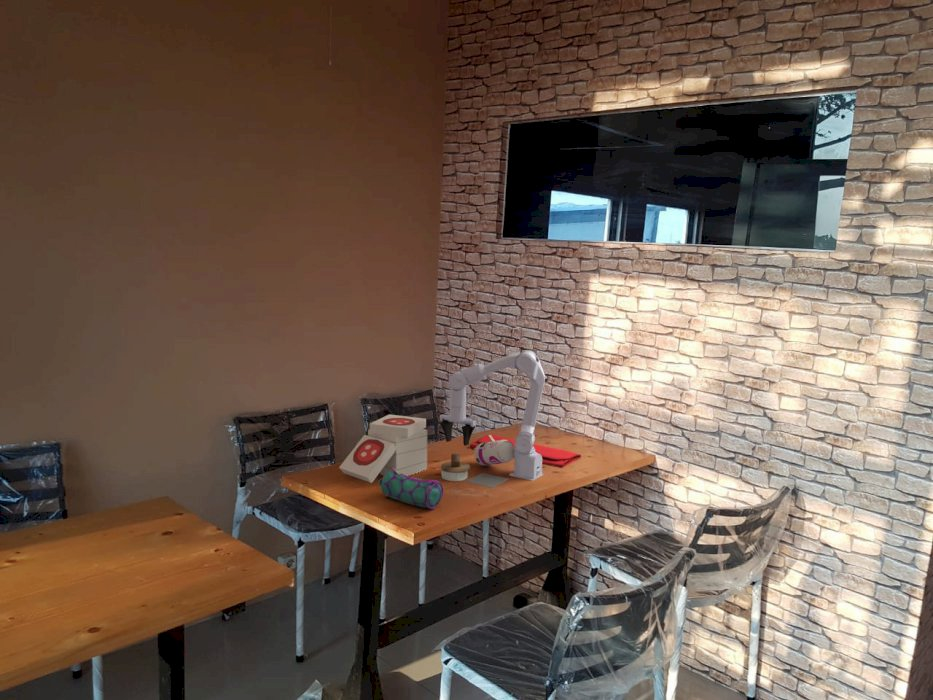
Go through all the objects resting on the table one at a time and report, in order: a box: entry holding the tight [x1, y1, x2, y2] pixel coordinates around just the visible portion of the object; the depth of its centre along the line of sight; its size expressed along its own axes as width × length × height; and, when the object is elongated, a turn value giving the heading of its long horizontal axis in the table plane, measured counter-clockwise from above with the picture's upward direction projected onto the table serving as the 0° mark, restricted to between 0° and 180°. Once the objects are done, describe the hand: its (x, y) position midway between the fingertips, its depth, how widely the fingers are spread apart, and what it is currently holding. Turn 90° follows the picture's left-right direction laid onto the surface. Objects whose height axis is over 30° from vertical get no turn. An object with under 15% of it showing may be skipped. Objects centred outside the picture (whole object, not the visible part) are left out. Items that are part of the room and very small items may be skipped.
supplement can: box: [474, 440, 515, 467], centre depth 262 cm, size 8×8×15 cm
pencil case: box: [377, 468, 444, 511], centre depth 229 cm, size 21×9×10 cm, turn 53°
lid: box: [440, 453, 471, 473], centre depth 252 cm, size 10×10×5 cm
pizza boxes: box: [338, 413, 428, 484], centre depth 255 cm, size 19×30×18 cm, turn 138°
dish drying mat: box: [470, 433, 582, 468], centre depth 284 cm, size 16×41×4 cm, turn 56°
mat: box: [465, 472, 510, 489], centre depth 250 cm, size 11×11×1 cm
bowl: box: [441, 469, 469, 482], centre depth 253 cm, size 9×9×4 cm
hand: (457, 443), depth 260 cm, fingers open, 7 cm apart
